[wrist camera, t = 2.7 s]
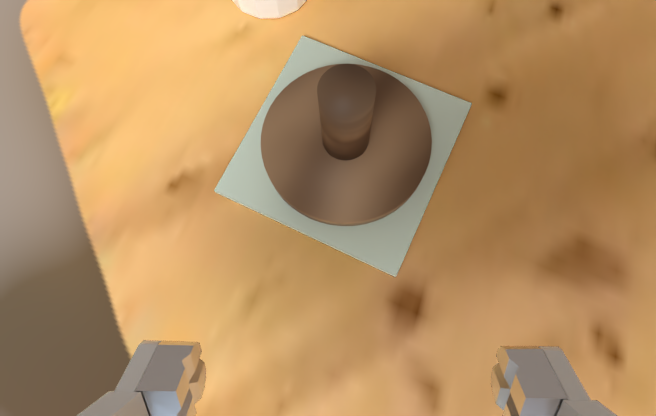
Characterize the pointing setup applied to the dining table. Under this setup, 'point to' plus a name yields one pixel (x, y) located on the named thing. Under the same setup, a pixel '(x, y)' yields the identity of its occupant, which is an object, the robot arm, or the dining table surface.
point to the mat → (361, 240)
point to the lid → (346, 144)
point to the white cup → (268, 7)
